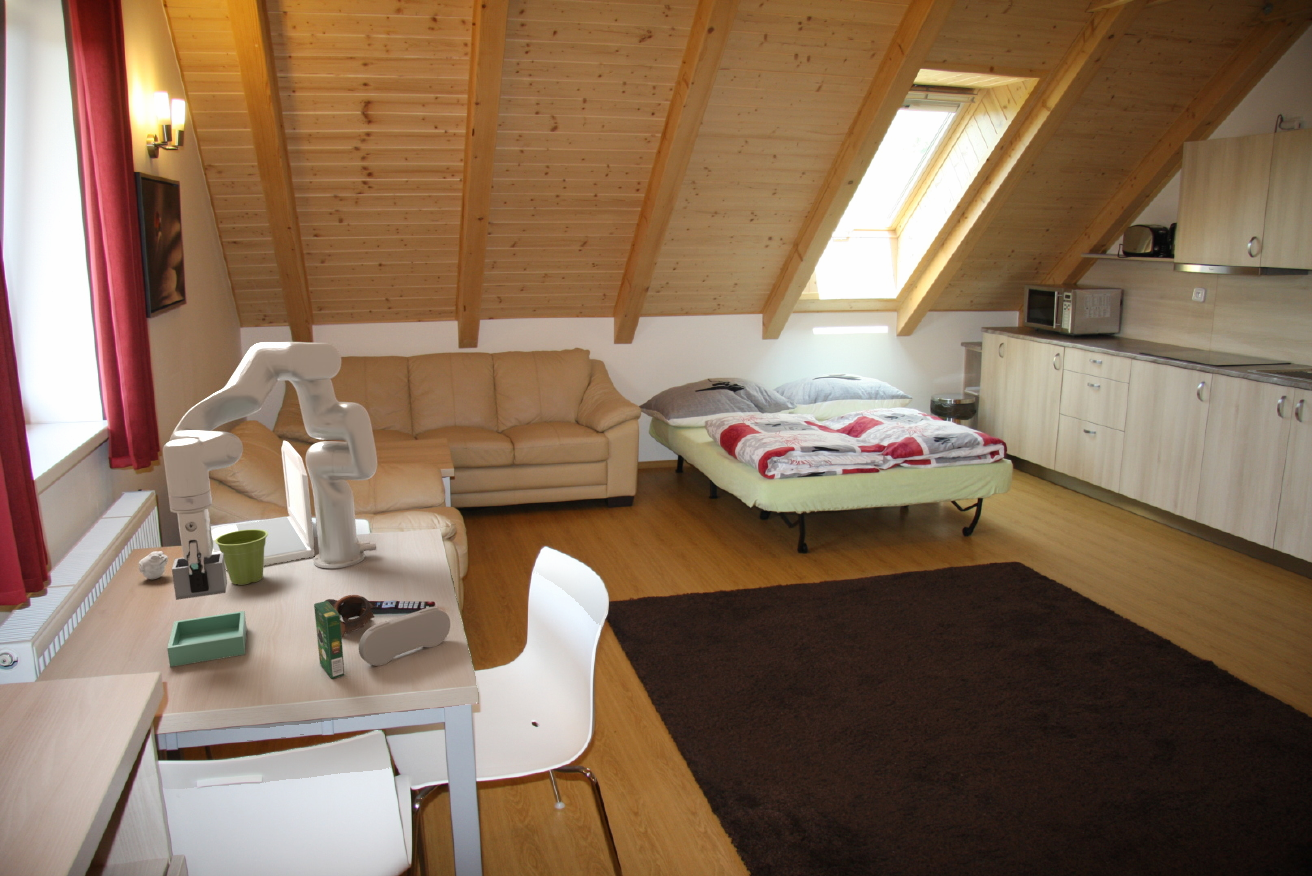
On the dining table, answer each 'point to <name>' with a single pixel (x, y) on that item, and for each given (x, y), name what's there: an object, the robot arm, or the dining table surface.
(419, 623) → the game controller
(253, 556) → the plant pot
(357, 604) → the pottery mug
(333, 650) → the coffee box
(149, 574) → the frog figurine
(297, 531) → the laptop
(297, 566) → the dining table surface
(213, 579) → the small crate
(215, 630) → the big crate
